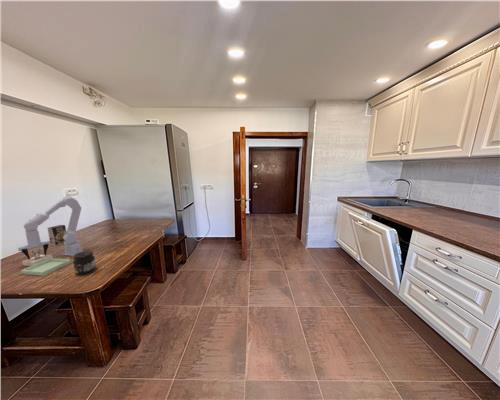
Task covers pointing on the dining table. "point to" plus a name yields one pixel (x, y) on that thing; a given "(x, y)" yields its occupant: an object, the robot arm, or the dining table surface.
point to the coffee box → (57, 235)
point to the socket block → (33, 261)
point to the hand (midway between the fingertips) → (37, 257)
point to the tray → (45, 267)
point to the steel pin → (36, 254)
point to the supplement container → (84, 262)
